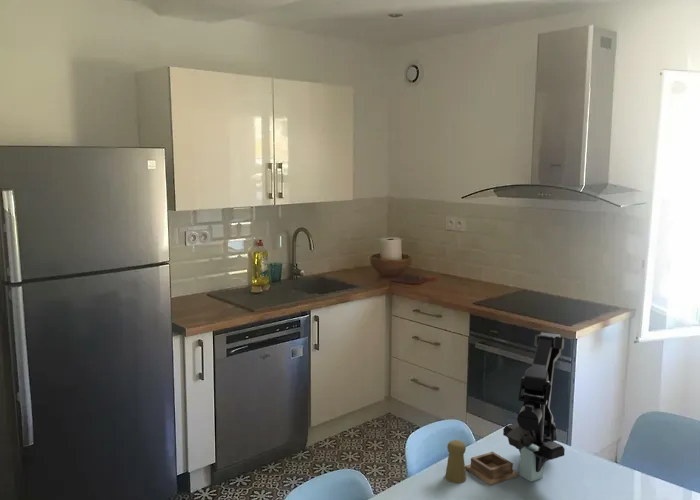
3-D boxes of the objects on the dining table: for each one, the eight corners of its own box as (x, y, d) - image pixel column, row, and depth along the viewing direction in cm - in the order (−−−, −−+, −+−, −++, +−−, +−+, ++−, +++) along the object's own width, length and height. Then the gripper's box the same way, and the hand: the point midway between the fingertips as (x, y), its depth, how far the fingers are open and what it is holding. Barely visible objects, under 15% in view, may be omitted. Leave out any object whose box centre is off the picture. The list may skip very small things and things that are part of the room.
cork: (465, 484, 173) (467, 447, 171) (444, 482, 174) (445, 445, 173) (466, 474, 179) (467, 438, 177) (445, 471, 180) (446, 436, 178)
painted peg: (530, 471, 181) (532, 442, 180) (542, 477, 177) (544, 448, 176) (519, 474, 179) (520, 445, 177) (531, 481, 175) (532, 452, 173)
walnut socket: (492, 460, 187) (492, 449, 187) (518, 475, 178) (519, 464, 177) (464, 468, 182) (465, 457, 181) (490, 485, 173) (490, 473, 172)
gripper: (490, 411, 179) (488, 461, 181) (538, 435, 163) (535, 489, 165) (518, 404, 185) (515, 452, 187) (567, 426, 169) (564, 479, 171)
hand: (531, 468), depth 177 cm, fingers closed on painted peg, 5 cm apart
